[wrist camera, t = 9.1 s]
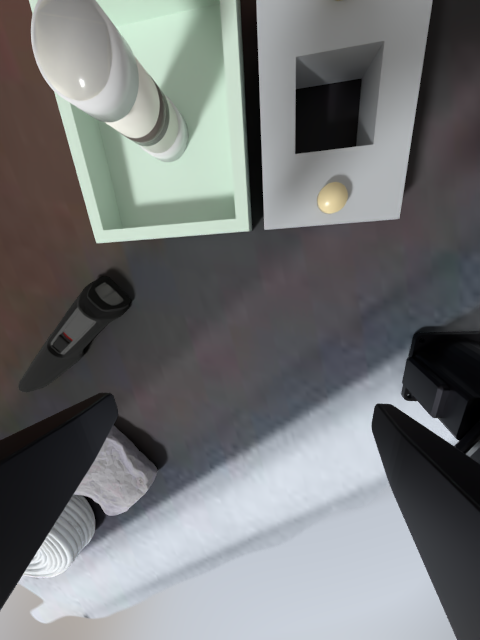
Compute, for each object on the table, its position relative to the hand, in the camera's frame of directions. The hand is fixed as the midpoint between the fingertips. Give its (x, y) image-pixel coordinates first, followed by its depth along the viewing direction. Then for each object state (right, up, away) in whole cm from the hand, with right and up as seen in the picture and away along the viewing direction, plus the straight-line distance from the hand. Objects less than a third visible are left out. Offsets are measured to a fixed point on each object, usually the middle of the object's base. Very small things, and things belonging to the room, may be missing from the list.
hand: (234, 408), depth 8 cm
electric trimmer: (-16, +1, +16) cm, 23 cm away
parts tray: (-5, +16, +8) cm, 19 cm away
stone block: (-16, -14, +22) cm, 30 cm away
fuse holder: (+6, +16, +7) cm, 18 cm away
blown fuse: (-5, +16, +8) cm, 18 cm away
